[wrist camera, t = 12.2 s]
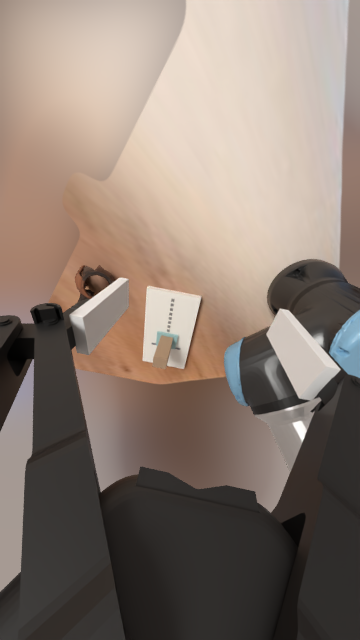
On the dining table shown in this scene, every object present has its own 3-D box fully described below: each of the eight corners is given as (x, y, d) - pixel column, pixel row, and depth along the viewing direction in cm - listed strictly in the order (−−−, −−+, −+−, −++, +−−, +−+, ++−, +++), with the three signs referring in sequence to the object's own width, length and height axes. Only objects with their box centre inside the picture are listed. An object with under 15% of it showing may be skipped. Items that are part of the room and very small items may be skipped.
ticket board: (201, 296, 45) (201, 298, 44) (184, 365, 59) (183, 369, 58) (148, 285, 46) (146, 288, 44) (144, 357, 59) (142, 360, 58)
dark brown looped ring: (83, 252, 44) (83, 260, 38) (119, 270, 50) (124, 279, 43) (66, 293, 47) (63, 307, 41) (102, 305, 53) (104, 319, 46)
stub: (177, 335, 51) (172, 358, 42) (175, 348, 53) (170, 372, 45) (157, 331, 51) (148, 353, 42) (156, 344, 53) (147, 367, 45)
